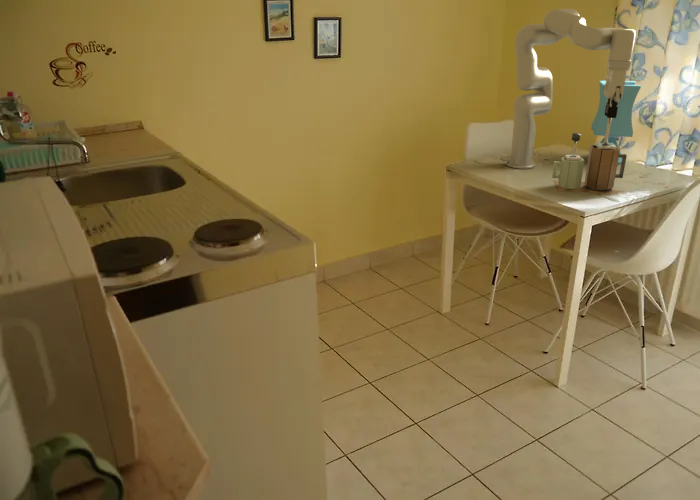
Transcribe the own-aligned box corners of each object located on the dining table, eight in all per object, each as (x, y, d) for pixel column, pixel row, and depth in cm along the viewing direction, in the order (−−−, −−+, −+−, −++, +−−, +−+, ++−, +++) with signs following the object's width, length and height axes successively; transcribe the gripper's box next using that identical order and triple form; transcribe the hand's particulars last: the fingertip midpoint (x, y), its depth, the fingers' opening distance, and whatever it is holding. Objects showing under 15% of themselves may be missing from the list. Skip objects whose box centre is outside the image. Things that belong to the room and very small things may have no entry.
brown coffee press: (587, 190, 222) (594, 147, 215) (582, 183, 231) (589, 141, 224) (623, 192, 220) (631, 148, 213) (617, 184, 229) (624, 142, 222)
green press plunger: (566, 167, 223) (571, 134, 218) (564, 164, 227) (569, 132, 222) (578, 168, 222) (584, 135, 217) (577, 165, 226) (581, 132, 221)
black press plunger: (596, 160, 219) (605, 105, 211) (593, 156, 224) (602, 103, 216) (613, 161, 218) (622, 106, 210) (609, 157, 223) (618, 103, 215)
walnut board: (557, 193, 223) (558, 190, 222) (553, 183, 235) (553, 180, 235) (618, 196, 219) (618, 193, 218) (610, 186, 231) (610, 183, 231)
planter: (627, 165, 260) (641, 85, 246) (590, 163, 264) (602, 84, 250) (621, 157, 274) (635, 81, 260) (586, 155, 278) (598, 80, 264)
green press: (552, 188, 225) (556, 158, 220) (550, 182, 232) (553, 153, 228) (581, 189, 223) (585, 159, 218) (577, 183, 230) (582, 154, 226)
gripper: (603, 63, 215) (595, 112, 223) (612, 67, 201) (604, 120, 208) (624, 63, 214) (615, 113, 221) (635, 67, 199) (626, 121, 206)
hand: (610, 116), depth 214 cm, fingers closed on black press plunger, 3 cm apart
